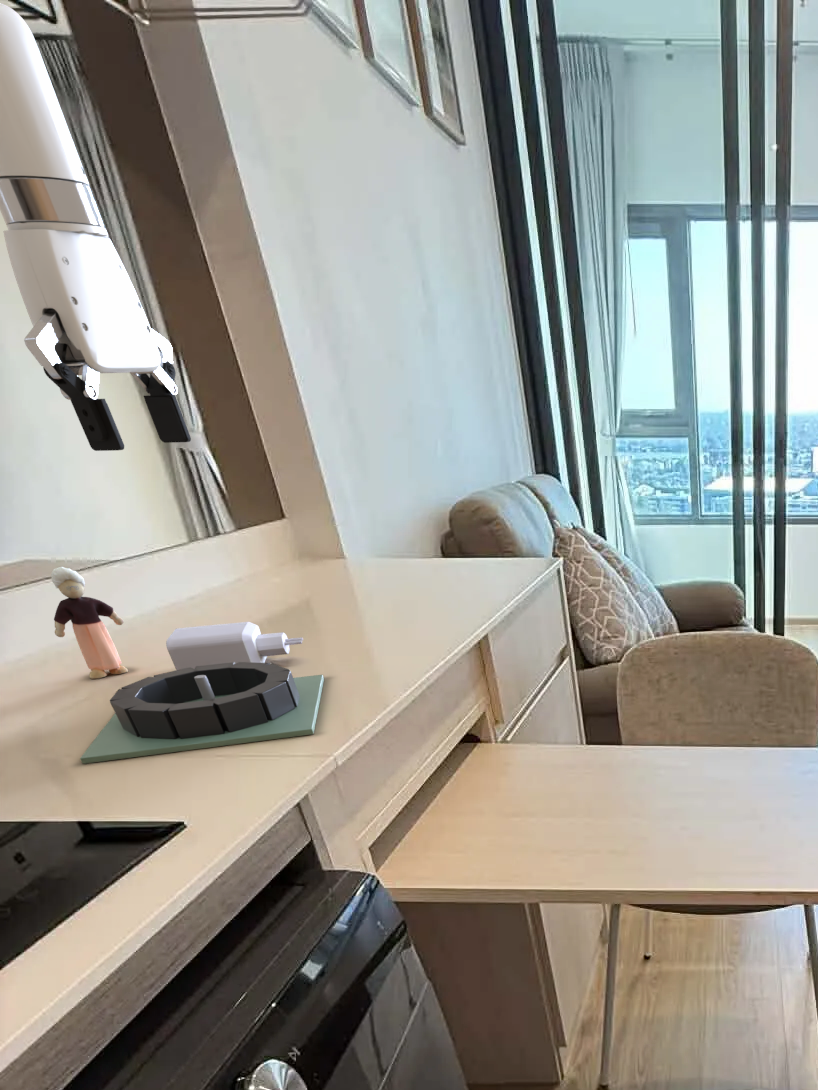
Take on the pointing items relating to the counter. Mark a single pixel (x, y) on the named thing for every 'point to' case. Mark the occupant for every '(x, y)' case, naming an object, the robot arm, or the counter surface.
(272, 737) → the peg board
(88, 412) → the robot arm
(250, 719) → the segmented bracelet
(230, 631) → the charger
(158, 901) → the counter surface
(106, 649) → the grandmother figurine
